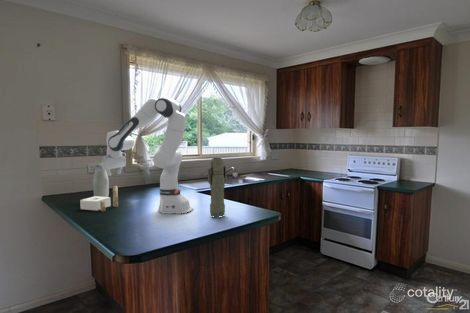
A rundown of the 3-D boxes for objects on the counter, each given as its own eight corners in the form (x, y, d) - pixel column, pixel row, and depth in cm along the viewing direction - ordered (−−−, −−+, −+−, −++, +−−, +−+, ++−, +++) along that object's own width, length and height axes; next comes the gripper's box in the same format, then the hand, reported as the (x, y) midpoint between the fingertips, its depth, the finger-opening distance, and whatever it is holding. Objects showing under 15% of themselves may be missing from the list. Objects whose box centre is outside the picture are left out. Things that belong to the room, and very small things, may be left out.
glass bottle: (91, 201, 213) (89, 163, 211) (100, 198, 223) (99, 162, 221) (102, 202, 210) (101, 164, 208) (111, 199, 220) (110, 162, 218)
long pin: (119, 206, 200) (118, 185, 199) (116, 207, 197) (115, 186, 196) (115, 205, 201) (114, 185, 200) (112, 206, 198) (111, 186, 197)
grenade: (205, 216, 174) (204, 158, 172) (220, 212, 182) (220, 157, 180) (214, 219, 168) (213, 159, 165) (229, 215, 176) (229, 157, 173)
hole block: (110, 205, 201) (110, 197, 200) (96, 210, 188) (96, 201, 188) (95, 204, 204) (94, 196, 204) (80, 209, 192) (80, 200, 191)
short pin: (106, 210, 188) (106, 201, 188) (103, 211, 186) (103, 202, 185) (102, 210, 189) (102, 201, 189) (99, 211, 186) (99, 202, 186)
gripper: (107, 155, 185) (107, 177, 187) (127, 153, 205) (127, 173, 206) (98, 155, 187) (99, 176, 188) (119, 153, 207) (120, 172, 208)
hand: (114, 174), depth 197 cm, fingers open, 8 cm apart
